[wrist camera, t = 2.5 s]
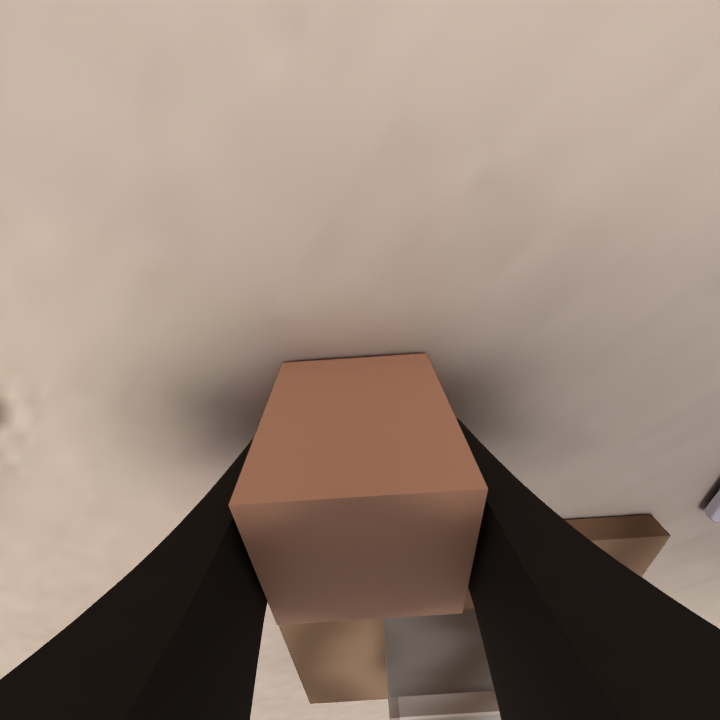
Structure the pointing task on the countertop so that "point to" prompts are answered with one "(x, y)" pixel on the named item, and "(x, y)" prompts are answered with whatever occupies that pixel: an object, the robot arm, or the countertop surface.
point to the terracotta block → (360, 493)
